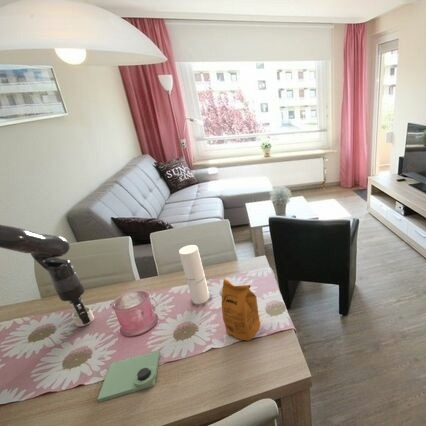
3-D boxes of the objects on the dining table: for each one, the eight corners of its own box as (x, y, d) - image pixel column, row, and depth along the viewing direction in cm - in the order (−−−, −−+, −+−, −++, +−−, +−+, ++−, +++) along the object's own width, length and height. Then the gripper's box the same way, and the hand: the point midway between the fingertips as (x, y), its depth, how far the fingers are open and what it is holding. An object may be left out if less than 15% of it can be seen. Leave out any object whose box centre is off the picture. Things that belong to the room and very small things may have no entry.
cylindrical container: (195, 293, 131) (182, 245, 121) (211, 292, 131) (199, 244, 121) (190, 304, 124) (176, 254, 114) (207, 303, 125) (195, 253, 115)
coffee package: (239, 316, 117) (230, 270, 108) (264, 325, 112) (257, 278, 103) (221, 334, 109) (210, 286, 100) (248, 345, 104) (239, 296, 95)
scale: (98, 404, 86) (94, 397, 85) (111, 366, 98) (108, 359, 97) (155, 387, 91) (153, 380, 89) (162, 352, 102) (160, 346, 101)
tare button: (137, 382, 90) (136, 378, 89) (140, 373, 92) (138, 369, 92) (149, 378, 90) (147, 374, 90) (151, 370, 93) (149, 366, 93)
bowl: (73, 329, 114) (68, 319, 112) (79, 318, 119) (75, 309, 117) (91, 325, 116) (87, 315, 114) (96, 314, 121) (92, 305, 119)
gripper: (52, 282, 112) (68, 314, 119) (59, 298, 103) (77, 332, 110) (76, 273, 117) (90, 304, 124) (85, 287, 108) (100, 320, 115)
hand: (84, 317), depth 117 cm, fingers open, 8 cm apart
